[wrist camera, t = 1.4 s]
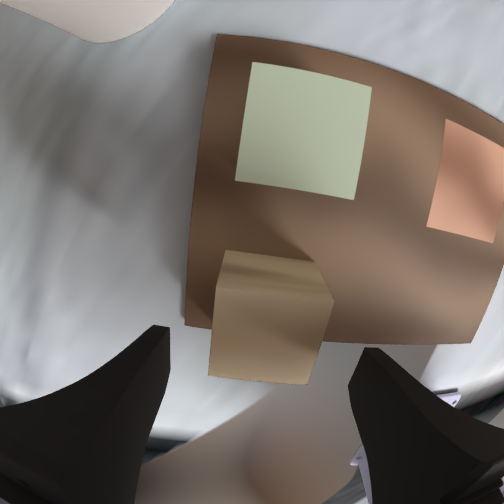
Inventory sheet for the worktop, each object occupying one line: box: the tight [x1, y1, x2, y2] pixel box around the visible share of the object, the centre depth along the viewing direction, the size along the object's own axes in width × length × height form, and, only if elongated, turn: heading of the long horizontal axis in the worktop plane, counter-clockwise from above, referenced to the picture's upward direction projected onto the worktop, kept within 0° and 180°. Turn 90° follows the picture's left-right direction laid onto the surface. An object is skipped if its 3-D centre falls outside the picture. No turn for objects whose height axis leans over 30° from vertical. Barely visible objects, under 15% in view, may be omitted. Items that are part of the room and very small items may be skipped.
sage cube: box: [235, 62, 372, 200], centre depth 11 cm, size 4×4×4 cm
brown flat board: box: [185, 34, 504, 344], centre depth 14 cm, size 15×20×1 cm
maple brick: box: [208, 250, 334, 385], centre depth 13 cm, size 4×4×4 cm
